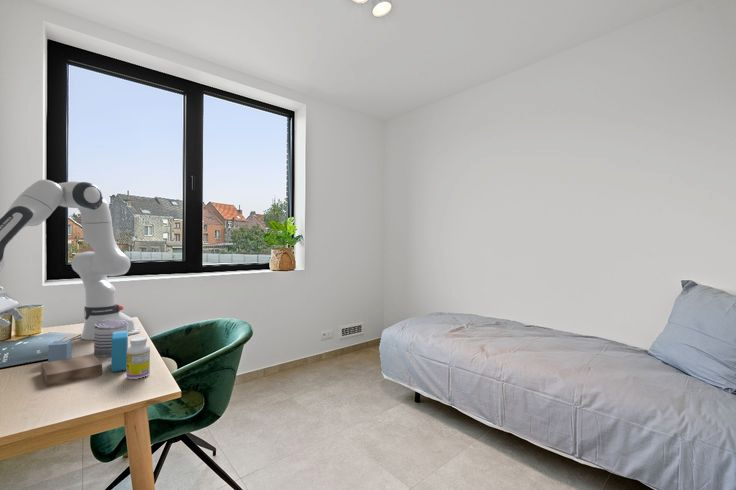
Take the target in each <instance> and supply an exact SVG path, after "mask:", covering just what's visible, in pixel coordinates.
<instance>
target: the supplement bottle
mask: <svg viewBox="0 0 736 490" xmlns="http://www.w3.org/2000/svg"><path fill="white" fill-rule="evenodd" d="M147 341H148V338H147V337H146V336H138V337H132V338H131V339H130V346H128V349H127V367H126V368H127V370H125V371H126V373H125V374H126V378H127V379H128V380H132V379H135V380H138V379H137V378H141V379H143V378H142V377H144V376H146V375H148V374H149V375H150V373H151V372H150V371H151V366H150V365H151V360H150V359H151V347H150V345H149V344H147ZM149 375H148V376H149ZM146 377H147V376H146ZM144 378H145V377H144Z"/></svg>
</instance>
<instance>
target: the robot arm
mask: <svg viewBox="0 0 736 490" xmlns="http://www.w3.org/2000/svg"><path fill="white" fill-rule="evenodd" d="M58 207H59V208H69V209H70V208H71V209H77V210H78V211H79V212H80V222H81V230H82V238H83V241H84V242H85V243H86V244H88V245H89V246H90V247H91V248H92V250H93V251H85V252H84V251H83V252H79V253H77V254H75V255H74V256H73V257H72V259H71V264H70V265H71V268H72V270H73V271H74V272H76V274H77V275H79V277H80V278H81V281H82V283H83V286H84V291H85V306H84V309H83V318H84V324H83V330H82V333H81V334H80V339H81V340H94V327H95V325H93V324H95V323H97V322H99V321H106V320H124V321H127V322H129V324H128V336H130V335H136V334H139V333H140V332H141V329H140V328H139V327H138V326H136V325H135V322H134V319H133V318H132V317H131V316H129V315H127V314H125V313H123V312H122V311H123V310H124V308H125V307H124V306H123V305H120V304H117V303H116V302H117V301H116V296H117V294H116V293H117V292H116V290H117V289H116V286H114V285H113V283H111V282H110V281H109V279H108V277H115V276H116V277H117V276H123V275H125V274H127V273H128V272H129V270H130V268H131V259H130V258H129V257H128V255H126V254H125V253H124V252H123V251H122V250H121V249H120V247H119V246H118V244H117V242H116V239H115V235H114V228H113V220H112V219H113V218H112V213H111V210H110V207H109V204H108V202H107V200H106V199H104V198H103V194H102V192H101V189H100V188H99V187H98V186H97V185H96V184H93V183H91V182H87V181H66V182H55V181H53V180H50V179H39V180H37V181H35V182H34V183H33V184H31V185H30V186H28V187H27V188H26V189H25V190H24V191H23V192H22V193H21V194H19V195H18V197H17V198H16V199H15V200H13V202H12V203H11V205H10V207H9V208H8V210H7V211H6V213H4V215H3V216H2V217H1V218H0V271H2V269H3V268H4V267H5V258H4V253H5V249H6V247H7V245H8V244H9V243H10V242H11V241H12V240H13V239H14V238H15V237H16V236H17V235H18V233H20V231H21V230H23V229H25V228H26V227H36V226H39V225H41V224H42V223H43V222H45V220H47V219H48V218H49V217H50V216H51V215H52V213H54V211H55V210H56V209H57V208H58ZM20 306H21V304H20V303H19V301H18V300H17V299H16V298H14V297H13V296H12V295H10V294H9V293H8V292H7V291H4V287H3V286H1V285H0V326H2V327H3V328H6V327H9V326H10V325H11V321H9V319H5V318H3V317H1V316H4V315H10V316H12V317H13V318H14V320H16V321H17V322H21V321H22V320H23V319H25V316H24V314H23V315H22V314H21V312H20V311H19V309H18V308H19V307H20Z"/></svg>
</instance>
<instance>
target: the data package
mask: <svg viewBox="0 0 736 490" xmlns="http://www.w3.org/2000/svg"><path fill="white" fill-rule="evenodd" d="M128 348H129V335H128V330H125V331H115V332H113V336H112V356H111V358H110V359H111V360H110V361H111V363H110V364H111V369H110V370H111V372H112V373H116V371H117V372H121V371H122V370H123V371H126V370H127V368H126V367H127V349H128Z"/></svg>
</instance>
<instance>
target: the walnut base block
mask: <svg viewBox="0 0 736 490" xmlns="http://www.w3.org/2000/svg"><path fill="white" fill-rule="evenodd" d="M40 369H41V370H40V375H41V377H42V379H43V382H44V383H45V385H46V387H51V386H52V387H53V386H55V385H60V384H64V383H69V382H74V381H78V380H83V379H88V378H91V377H92V378H93V377H97V376H101V375H103V363H102V362H101V361H100V360H99V359H98V358H97V357H96V355H94V353H91V354H86V355H81V356H75V357H72V358H69V359H63V360H58V361H52V362H48V361H47V362H44V363H41V364H40Z"/></svg>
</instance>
